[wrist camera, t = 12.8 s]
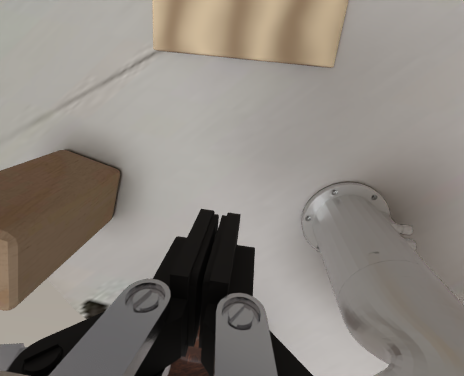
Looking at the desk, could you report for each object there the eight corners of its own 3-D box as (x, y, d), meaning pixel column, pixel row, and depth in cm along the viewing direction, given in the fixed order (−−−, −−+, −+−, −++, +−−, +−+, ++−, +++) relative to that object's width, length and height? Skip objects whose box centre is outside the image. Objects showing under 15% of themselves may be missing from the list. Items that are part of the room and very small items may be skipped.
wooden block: (63, 146, 40) (-107, 202, 22) (123, 168, 40) (7, 242, 22) (59, 199, 44) (-87, 284, 26) (114, 219, 44) (9, 318, 26)
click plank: (353, -34, 28) (357, -40, 26) (330, 67, 32) (333, 66, 30) (156, -49, 29) (151, -55, 28) (157, 50, 33) (153, 49, 32)
